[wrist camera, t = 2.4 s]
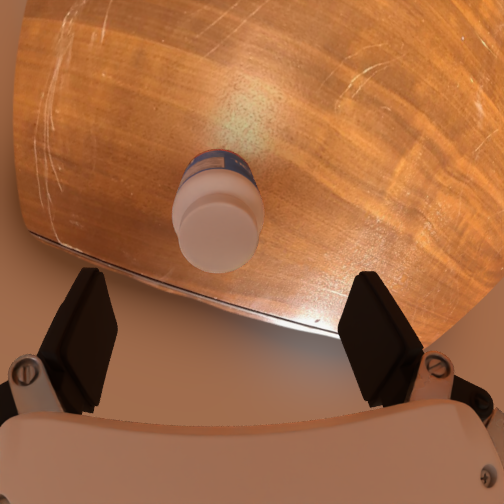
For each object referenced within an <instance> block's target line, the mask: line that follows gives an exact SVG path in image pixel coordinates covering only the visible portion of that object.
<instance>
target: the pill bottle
mask: <svg viewBox="0 0 504 504" xmlns="http://www.w3.org/2000/svg"><path fill="white" fill-rule="evenodd" d="M172 222H173V226H174V229H175V232H176V234H177V236H178V241H179V246H180V249H181V252H182V254H183V255H184V257H185V258H186V259H187V260H188V262H189V263H191V264H192V265H193V266H195V267H196V268H198V269H200V270H203V271H205V272H210V273H226V272H231V271H234V270H236V269H238V268H240V267H242V266H243V265H245V264H246V263H247V262H248V261H249V260H250V259H251V258H252V256H253V255H254V253H255V251H256V249H257V246H258V241H259V234H260V232H261V230H262V227H263V222H264V205H263V201H262V198H261V195H260V193H259V190H258V187H257V185H256V182H255V180H254V177H253V175H252V172H251V170H250V168H249V166H248V164H247V163H246V162H245V161H244V159H243V158H241V157H240V156H239V155H237V154H236V153H234V152H231V151H228V150H224V149H213V150H208V151H205V152H203V153H201V154H199V155H197V156H196V157H195V158H194V159H193V160H192V161H191V162H190V163H189V165H188V166H187V168H186V170H185V172H184V175H183V177H182V180H181V182H180V185H179V188H178V191H177V194H176V196H175V200H174V203H173V208H172Z"/></svg>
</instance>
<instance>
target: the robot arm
mask: <svg viewBox="0 0 504 504" xmlns="http://www.w3.org/2000/svg"><path fill="white" fill-rule="evenodd" d="M117 327H118V326H117V322H116V319H115V315H114V312H113V308H112V305H111V302H110V297H109V294H108V290H107V286H106V282H105V278H104V274H103V273H102V272H99V270H98V268H82V269H81V271H80V273H79V274H78V276H77V278H76V280H75V282H74V283H73V285H72V287H71V289H70V291H69V292H68V294H67V297H66V298H65V300H64V302H63V303H62V304H61V306H60V307H59V309H58V311H57V313H56V315H55V317H54V319H53V321H52V323H51V325H50V328H49V330H48V332H47V334H46V336H45V338H44V340H43V343H42V345H41V347H40V349H39V352H38V354H37V356H35V355H31V354H28V355H23V356H20V357H19V358H17V359H16V360H15V361H14V362H13V363H12V364H11V366H10V368H9V371H8V381H6V382H4V383H2V384H1V385H0V504H504V413H503V412H502V411H501V410H499V409H498V408H495V409H493V400H492V398H491V396H490V395H489V394H488V392H487V391H485V390H484V389H482V388H480V387H478V386H476V385H474V384H472V383H470V382H468V381H466V380H464V379H462V378H460V377H458V376H456V375H454V366H453V364H452V362H451V360H450V359H449V358H448V357H447V356H446V355H444V354H443V353H441V352H438V351H428V352H426V353H425V354H424V352H423V350H422V349H423V348H424V347H423V345H422V344H421V342H420V340H419V339H418V337H417V335H416V333H415V332H414V330H413V329H412V327H411V325H410V324H409V322H408V320H407V319H406V317H405V316H404V314H403V312H402V311H401V309H400V308H399V306H398V304H397V303H396V301H395V300H394V298H393V297H392V295H391V294H390V292H389V291H388V289H387V288H386V286H385V285H384V283H383V282H382V280H381V279H380V277H379V276H378V274H377V273H376V272H375V271H362V272H360V273H359V275H357V276H356V277H355V279H354V282H353V285H352V288H351V290H350V293H349V296H348V299H347V302H346V305H345V308H344V310H343V313H342V316H341V319H340V321H339V324H338V334H339V336H340V339H341V341H342V344H343V346H344V349H345V351H346V354H347V356H348V359H349V362H350V364H351V367H352V370H353V372H354V375H355V377H356V380H357V383H358V385H359V388H360V391H361V393H362V396H363V398H364V400H365V401H368V403H369V406H370V408H371V407H376V406H380V405H383V408H380V409H376V410H370V411H365V412H360V413H354V414H349V415H343V416H337V417H331V418H325V419H317V420H310V421H302V422H292V423H282V424H270V425H253V426H214V427H213V426H212V427H210V426H175V425H160V424H148V423H138V422H129V421H120V420H112V419H104V418H97V417H91V416H85V415H82V411H83V412H88V413H93V411H94V407H95V406H98V405H99V402H100V398H101V393H102V389H103V385H104V381H105V377H106V372H107V369H108V365H109V361H110V358H111V354H112V350H113V347H114V343H115V340H116V336H117V331H118V328H117Z"/></svg>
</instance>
